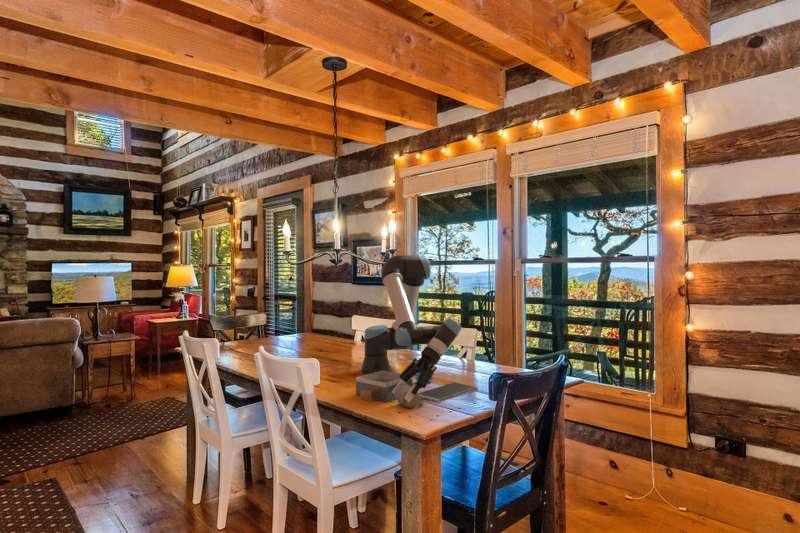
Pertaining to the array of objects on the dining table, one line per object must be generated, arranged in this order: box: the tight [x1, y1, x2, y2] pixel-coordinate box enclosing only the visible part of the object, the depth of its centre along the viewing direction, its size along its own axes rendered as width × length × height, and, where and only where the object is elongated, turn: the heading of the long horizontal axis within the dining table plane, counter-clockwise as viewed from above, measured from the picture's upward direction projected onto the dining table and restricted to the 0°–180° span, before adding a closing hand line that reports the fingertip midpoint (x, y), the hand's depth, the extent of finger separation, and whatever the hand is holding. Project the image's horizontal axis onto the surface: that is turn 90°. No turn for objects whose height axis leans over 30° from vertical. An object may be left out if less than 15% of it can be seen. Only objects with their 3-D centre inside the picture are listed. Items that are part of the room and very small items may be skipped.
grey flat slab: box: [417, 381, 479, 403], centre depth 201 cm, size 13×27×2 cm, turn 134°
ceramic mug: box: [395, 384, 425, 409], centre depth 184 cm, size 11×8×8 cm
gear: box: [413, 368, 435, 384], centre depth 221 cm, size 11×6×10 cm
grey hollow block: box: [355, 370, 413, 403], centre depth 199 cm, size 17×20×8 cm
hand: (400, 397), depth 182 cm, fingers closed on ceramic mug, 9 cm apart
